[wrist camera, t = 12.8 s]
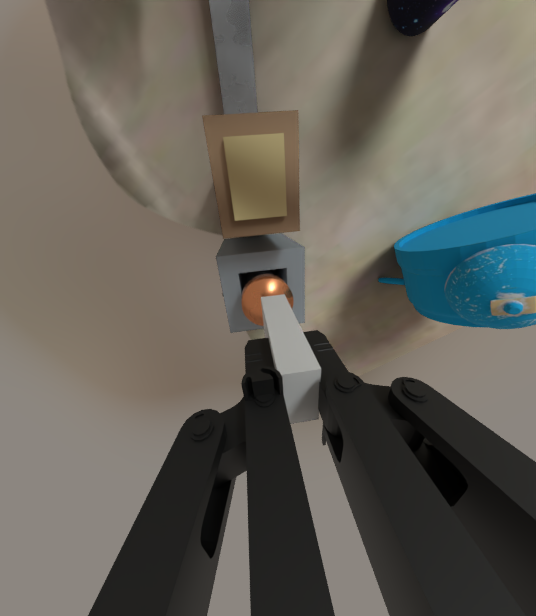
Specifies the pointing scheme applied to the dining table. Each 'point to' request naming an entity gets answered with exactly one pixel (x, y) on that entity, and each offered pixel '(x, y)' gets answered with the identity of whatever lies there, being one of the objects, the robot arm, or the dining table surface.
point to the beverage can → (416, 14)
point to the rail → (234, 55)
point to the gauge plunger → (262, 293)
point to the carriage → (255, 171)
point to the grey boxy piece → (257, 257)
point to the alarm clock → (474, 266)
